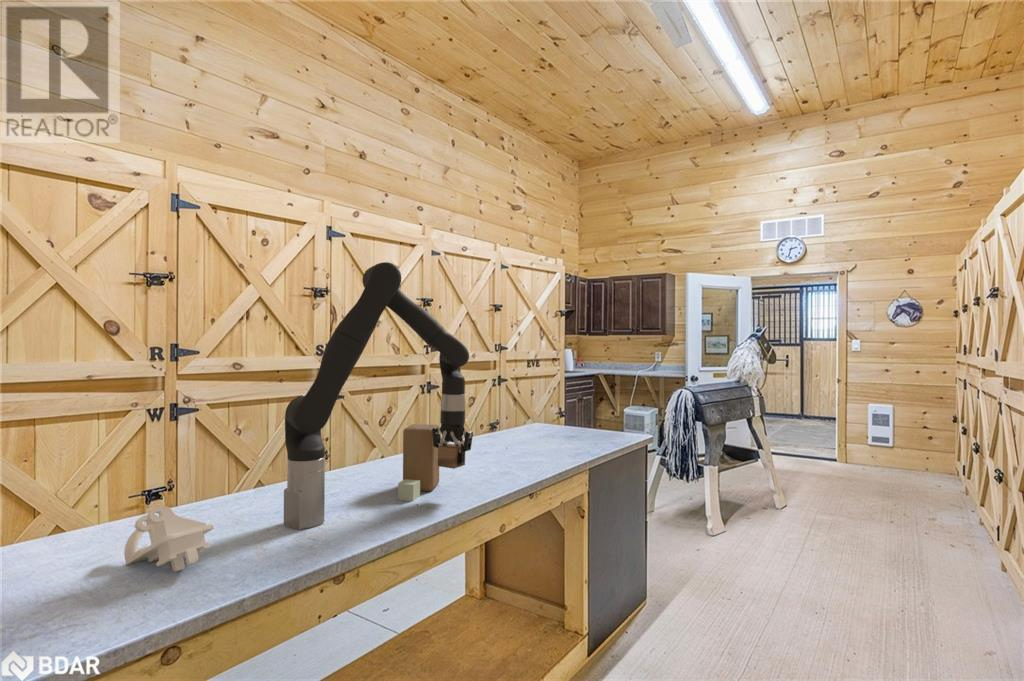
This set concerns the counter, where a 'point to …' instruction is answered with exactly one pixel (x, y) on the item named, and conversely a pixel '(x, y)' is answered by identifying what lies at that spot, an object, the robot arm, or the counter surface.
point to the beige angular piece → (167, 539)
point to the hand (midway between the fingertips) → (451, 463)
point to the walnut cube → (448, 456)
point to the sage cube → (409, 490)
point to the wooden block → (420, 456)
